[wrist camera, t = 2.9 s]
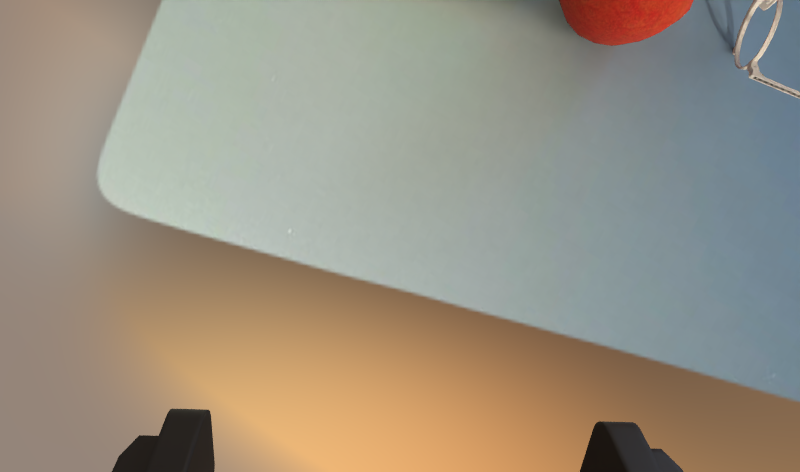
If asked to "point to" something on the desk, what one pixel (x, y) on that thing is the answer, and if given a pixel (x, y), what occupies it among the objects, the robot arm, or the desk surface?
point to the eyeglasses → (764, 3)
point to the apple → (622, 18)
